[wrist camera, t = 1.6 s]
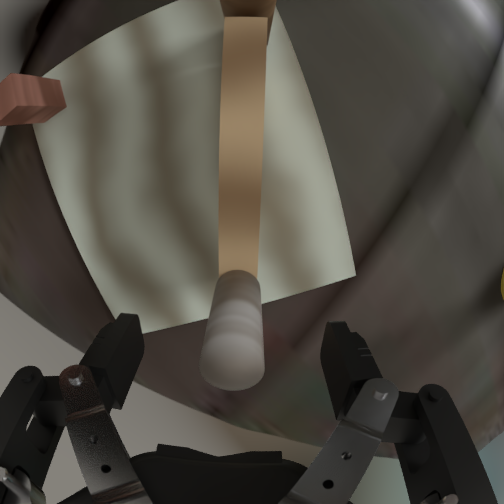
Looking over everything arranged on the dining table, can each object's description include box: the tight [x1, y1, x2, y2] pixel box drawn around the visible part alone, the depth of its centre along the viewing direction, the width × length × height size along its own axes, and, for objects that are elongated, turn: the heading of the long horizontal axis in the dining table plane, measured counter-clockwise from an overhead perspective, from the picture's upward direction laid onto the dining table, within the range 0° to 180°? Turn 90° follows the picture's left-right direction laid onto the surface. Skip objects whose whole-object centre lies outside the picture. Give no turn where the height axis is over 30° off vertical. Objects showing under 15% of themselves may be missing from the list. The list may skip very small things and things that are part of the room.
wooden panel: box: [199, 17, 268, 390], centre depth 15 cm, size 17×2×15 cm, turn 178°
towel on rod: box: [0, 0, 356, 334], centre depth 16 cm, size 24×28×16 cm
